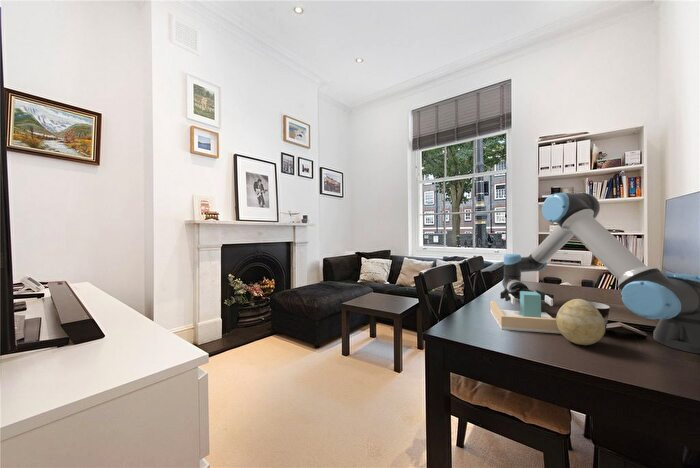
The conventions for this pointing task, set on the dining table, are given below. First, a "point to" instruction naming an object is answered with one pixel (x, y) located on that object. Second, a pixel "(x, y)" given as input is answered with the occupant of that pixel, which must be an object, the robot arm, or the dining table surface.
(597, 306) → the coffee mug
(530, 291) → the robot arm
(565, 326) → the fossilized egg
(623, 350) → the dining table surface
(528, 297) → the teal block
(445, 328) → the dining table surface
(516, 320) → the tray
